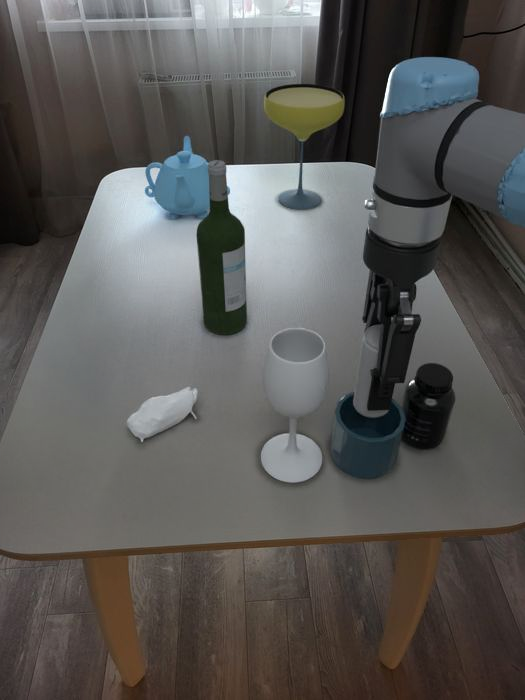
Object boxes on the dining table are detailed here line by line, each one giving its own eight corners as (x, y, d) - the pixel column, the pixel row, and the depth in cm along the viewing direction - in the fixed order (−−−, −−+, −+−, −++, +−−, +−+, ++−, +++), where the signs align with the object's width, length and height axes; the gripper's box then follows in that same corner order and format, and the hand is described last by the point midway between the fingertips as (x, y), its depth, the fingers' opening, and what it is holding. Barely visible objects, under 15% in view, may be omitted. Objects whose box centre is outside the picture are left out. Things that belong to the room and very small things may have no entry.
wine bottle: (217, 305, 106) (207, 149, 87) (254, 316, 104) (252, 158, 84) (196, 328, 101) (179, 168, 81) (234, 340, 98) (227, 178, 79)
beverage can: (397, 410, 73) (413, 339, 65) (369, 425, 71) (383, 355, 63) (371, 388, 76) (384, 319, 68) (344, 403, 74) (354, 332, 66)
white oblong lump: (178, 405, 88) (120, 423, 82) (188, 376, 84) (127, 392, 78) (194, 428, 86) (135, 448, 80) (204, 399, 82) (143, 418, 75)
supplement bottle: (407, 409, 86) (422, 350, 78) (450, 428, 83) (469, 369, 75) (388, 437, 81) (401, 378, 74) (432, 459, 78) (451, 399, 71)
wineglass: (329, 478, 76) (343, 365, 62) (266, 487, 75) (267, 373, 61) (314, 430, 82) (324, 318, 69) (256, 438, 81) (255, 325, 68)
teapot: (183, 234, 127) (177, 175, 118) (138, 204, 138) (129, 148, 129) (238, 212, 135) (237, 155, 126) (191, 186, 146) (187, 132, 137)
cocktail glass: (282, 222, 131) (285, 112, 115) (252, 191, 144) (251, 89, 127) (349, 208, 137) (360, 101, 120) (314, 179, 149) (320, 79, 133)
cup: (408, 450, 80) (418, 412, 74) (371, 490, 74) (380, 453, 69) (355, 418, 84) (361, 380, 79) (317, 454, 79) (321, 416, 74)
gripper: (352, 192, 63) (334, 348, 78) (385, 280, 49) (356, 448, 65) (418, 190, 63) (387, 346, 78) (469, 278, 50) (420, 445, 65)
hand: (373, 392), depth 71 cm, fingers closed on beverage can, 5 cm apart
